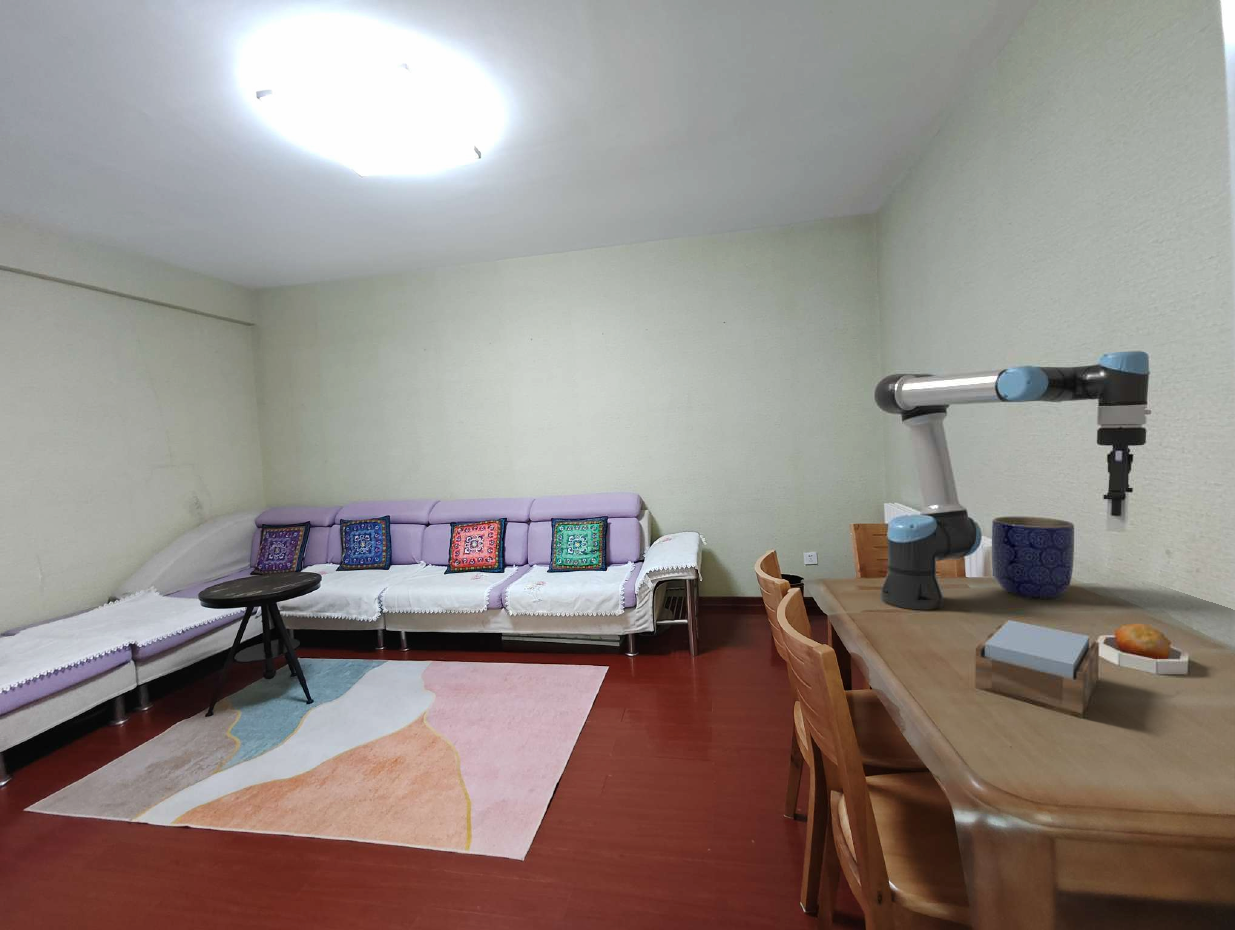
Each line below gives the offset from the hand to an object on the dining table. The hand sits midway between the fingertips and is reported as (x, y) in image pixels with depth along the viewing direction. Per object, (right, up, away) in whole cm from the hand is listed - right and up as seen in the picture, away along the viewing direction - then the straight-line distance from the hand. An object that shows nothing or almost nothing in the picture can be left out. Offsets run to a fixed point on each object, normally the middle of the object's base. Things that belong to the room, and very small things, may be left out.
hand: (1117, 526), depth 113 cm
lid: (-29, -22, -15) cm, 39 cm away
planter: (+11, -24, +38) cm, 46 cm away
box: (-29, -28, -15) cm, 42 cm away
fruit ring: (0, -26, -6) cm, 27 cm away
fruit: (0, -27, -6) cm, 27 cm away
